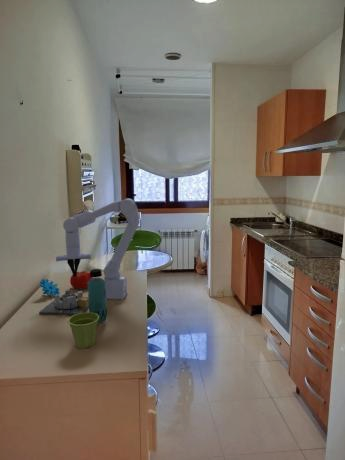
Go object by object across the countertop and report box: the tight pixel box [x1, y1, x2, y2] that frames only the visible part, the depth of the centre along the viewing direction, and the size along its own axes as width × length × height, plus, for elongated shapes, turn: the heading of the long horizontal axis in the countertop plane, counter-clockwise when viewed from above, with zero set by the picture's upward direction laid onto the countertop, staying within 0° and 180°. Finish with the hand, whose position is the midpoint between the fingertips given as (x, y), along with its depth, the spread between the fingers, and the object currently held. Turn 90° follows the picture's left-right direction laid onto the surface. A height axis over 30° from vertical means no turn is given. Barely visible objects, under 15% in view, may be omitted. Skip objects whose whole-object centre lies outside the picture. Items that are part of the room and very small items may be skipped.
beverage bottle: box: [87, 268, 108, 324], centre depth 118 cm, size 6×7×20 cm
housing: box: [61, 292, 76, 301], centre depth 136 cm, size 6×6×5 cm
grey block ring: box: [53, 289, 89, 309], centre depth 135 cm, size 11×14×4 cm
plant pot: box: [67, 311, 99, 350], centre depth 104 cm, size 9×9×9 cm
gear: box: [39, 278, 60, 297], centre depth 150 cm, size 11×6×10 cm
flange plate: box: [38, 296, 89, 317], centre depth 136 cm, size 17×17×1 cm
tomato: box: [69, 270, 94, 290], centre depth 160 cm, size 11×11×8 cm
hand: (74, 275), depth 145 cm, fingers closed
